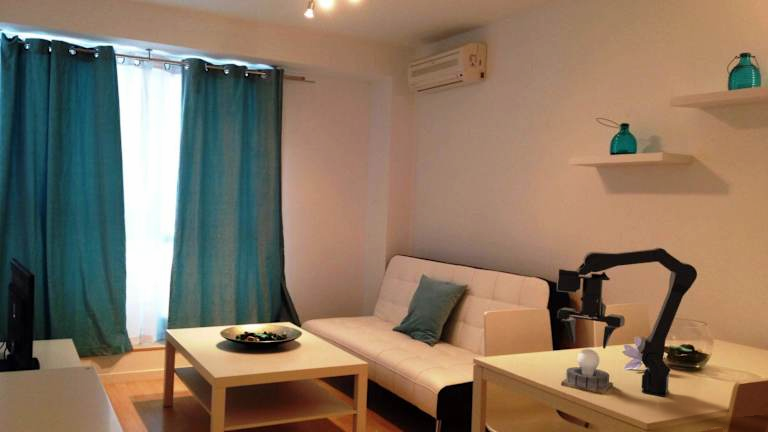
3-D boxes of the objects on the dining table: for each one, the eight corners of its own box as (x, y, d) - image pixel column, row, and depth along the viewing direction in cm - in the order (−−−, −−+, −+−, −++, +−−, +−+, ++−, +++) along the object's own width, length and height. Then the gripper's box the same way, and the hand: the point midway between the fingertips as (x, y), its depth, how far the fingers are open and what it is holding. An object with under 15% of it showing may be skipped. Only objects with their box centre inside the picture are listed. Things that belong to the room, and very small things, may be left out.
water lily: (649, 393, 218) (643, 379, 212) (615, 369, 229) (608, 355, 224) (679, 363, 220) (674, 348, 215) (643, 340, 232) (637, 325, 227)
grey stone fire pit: (613, 385, 200) (614, 372, 200) (602, 394, 190) (603, 380, 190) (573, 377, 207) (573, 364, 207) (560, 385, 197) (560, 372, 197)
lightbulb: (596, 383, 202) (597, 347, 201) (600, 389, 195) (601, 352, 195) (574, 382, 202) (575, 346, 202) (578, 387, 196) (579, 350, 196)
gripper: (630, 295, 199) (627, 346, 200) (569, 288, 210) (566, 336, 210) (621, 299, 190) (617, 352, 191) (558, 291, 201) (554, 342, 201)
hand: (588, 345), depth 198 cm, fingers open, 9 cm apart
